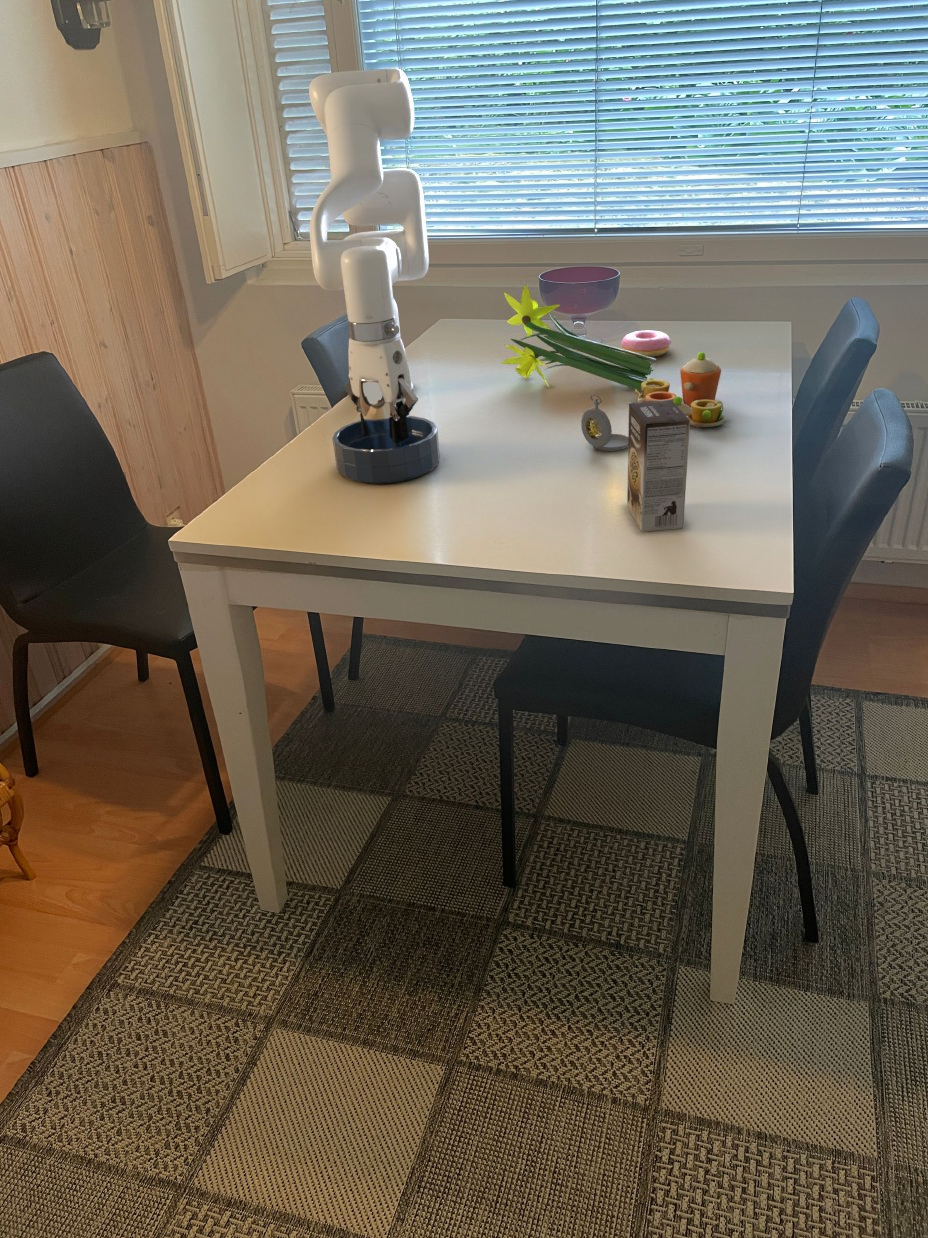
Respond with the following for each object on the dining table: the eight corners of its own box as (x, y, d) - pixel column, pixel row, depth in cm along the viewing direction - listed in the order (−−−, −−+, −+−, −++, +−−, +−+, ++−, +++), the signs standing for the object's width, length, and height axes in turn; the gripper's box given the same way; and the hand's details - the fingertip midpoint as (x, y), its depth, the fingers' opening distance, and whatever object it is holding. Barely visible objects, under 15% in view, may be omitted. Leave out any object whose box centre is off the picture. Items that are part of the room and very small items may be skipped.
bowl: (316, 473, 161) (311, 439, 158) (385, 441, 173) (382, 409, 170) (392, 493, 151) (387, 458, 148) (460, 458, 163) (457, 424, 160)
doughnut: (615, 358, 209) (615, 339, 207) (627, 345, 217) (628, 326, 215) (664, 360, 205) (665, 340, 203) (675, 346, 213) (675, 328, 211)
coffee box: (625, 507, 141) (627, 401, 132) (667, 502, 141) (672, 397, 133) (640, 533, 133) (643, 422, 125) (685, 528, 133) (691, 418, 125)
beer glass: (402, 468, 158) (392, 380, 150) (362, 468, 159) (351, 381, 152) (412, 453, 164) (403, 367, 156) (374, 453, 165) (363, 368, 158)
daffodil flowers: (631, 408, 182) (469, 351, 190) (636, 424, 196) (485, 370, 204) (665, 325, 180) (499, 271, 188) (668, 346, 194) (514, 296, 202)
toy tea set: (633, 396, 185) (634, 347, 180) (713, 392, 184) (717, 343, 179) (645, 443, 163) (647, 388, 158) (737, 439, 161) (742, 384, 156)
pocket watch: (633, 440, 164) (634, 383, 159) (624, 457, 158) (625, 399, 153) (587, 437, 167) (587, 382, 162) (576, 454, 160) (576, 397, 155)
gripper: (429, 329, 148) (438, 438, 157) (351, 319, 158) (364, 422, 167) (397, 341, 143) (408, 453, 152) (318, 329, 153) (333, 435, 162)
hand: (385, 436), depth 159 cm, fingers closed on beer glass, 6 cm apart
